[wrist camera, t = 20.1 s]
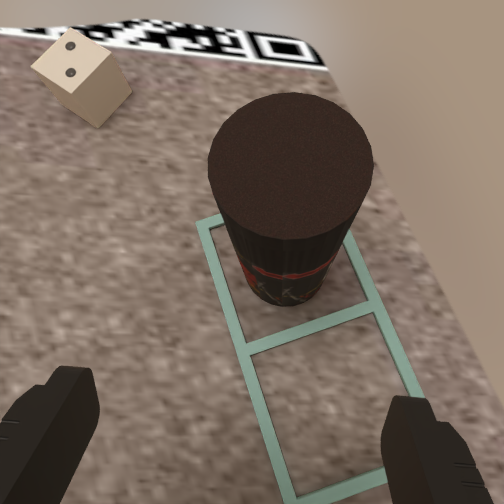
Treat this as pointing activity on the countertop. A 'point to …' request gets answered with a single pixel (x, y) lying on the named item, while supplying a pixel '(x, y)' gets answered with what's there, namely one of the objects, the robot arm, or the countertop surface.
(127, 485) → the countertop surface
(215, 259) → the track
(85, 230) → the countertop surface
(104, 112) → the die
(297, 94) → the deodorant
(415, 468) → the robot arm
